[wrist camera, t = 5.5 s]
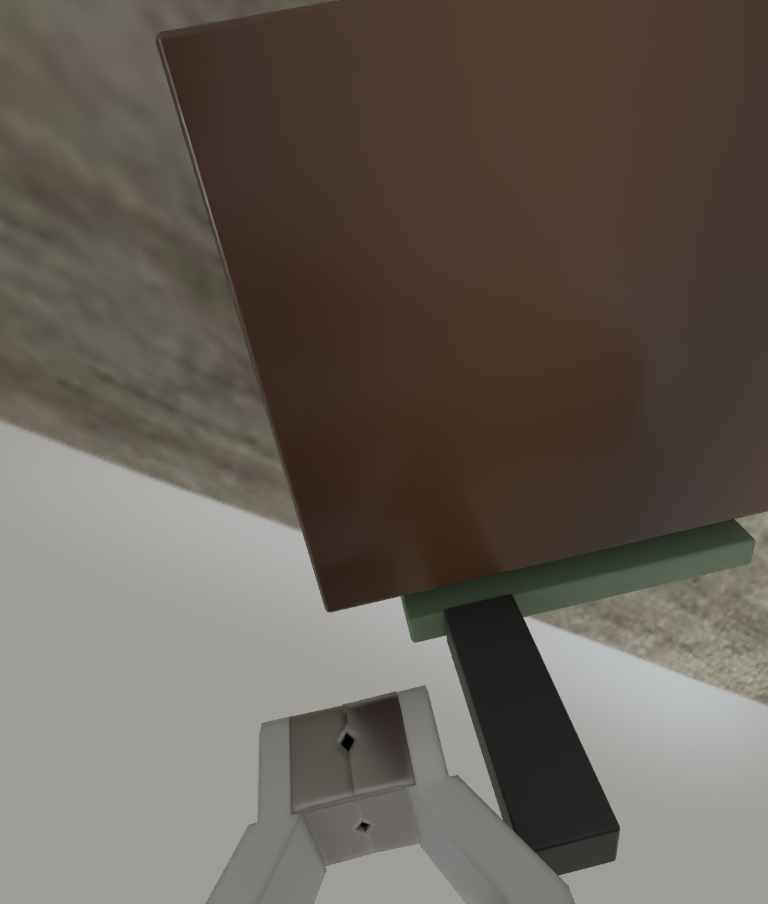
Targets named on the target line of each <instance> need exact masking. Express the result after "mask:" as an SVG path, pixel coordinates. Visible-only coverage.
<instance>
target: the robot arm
mask: <svg viewBox="0 0 768 904" xmlns="http://www.w3.org/2000/svg"><path fill="white" fill-rule="evenodd" d="M398 698H399V699H398ZM258 779H259V780H258V823H254V824H250V825H249V826H248V827H247V830H246V831H245V833H244V835H243V837H242V838H241V840H240V842H239V844H238V846H237V847H236V849H235V851H234V853H233V855H232V857H231V858H230V860H229V862H228V864H227V866H226V867H225V869H224V871H223V873H222V875H221V877H220V879H219V880H218V882H217V884H216V886H215V887H214V890H213V891H212V893H211V895H210V897H209V898H208V900H207V902H206V904H314V902H315V899H316V897H317V894H318V891H319V889H320V886H321V883H322V880H323V878H324V875H325V872H326V868H325V866H328V865H331V864H335V863H339V862H342V861H346V860H349V859H353V858H357V857H361V856H364V855H368V854H372V853H376V852H381V851H386V850H390V849H395V848H399V847H404V846H408V845H414V844H418V843H420V845H421V847H422V848H423V850H425V852H426V853H427V855H428V856H429V857H430V858H431V860H432V861H433V862H434V864H435V865H436V866H437V867H438V869H439V870H440V871H441V872H442V874H443V875H444V876H445V877H446V879H447V880H448V881H449V882H450V884H451V885H452V886H453V888H454V889H455V890H456V891H457V893H458V894H459V895H460V896H461V897H462V899H463V900H464V902H465V903H466V904H575V903H574V900H573V897H572V895H571V892H570V889H569V886H568V885H567V884H566V883H565V882H564V881H563V880H562V879H561V878H560V877H559V876H558V875H557V874H556V873H555V872H554V871H553V870H552V869H551V868H550V867H549V866H548V865H547V864H546V863H545V862H544V861H543V860H542V859H541V858H540V857H539V856H538V855H537V854H536V853H535V852H534V851H533V850H532V849H531V848H530V847H529V846H528V845H527V844H526V843H525V842H524V841H523V840H522V839H521V838H520V837H519V836H518V835H517V834H516V833H515V832H514V831H513V830H512V829H511V828H510V827H509V826H508V825H507V824H506V823H505V822H504V821H503V820H502V819H501V818H500V817H499V816H498V815H497V814H496V813H495V812H494V811H493V810H492V809H491V808H490V807H489V806H488V805H487V804H486V803H485V802H484V801H483V800H482V799H481V798H480V797H479V796H478V795H477V794H476V793H475V792H473V790H472V789H471V788H469V786H468V785H467V784H466V783H465V782H464V781H463V780H462V779H461V778H459V776H458V775H457V776H451V777H449V775H448V771H447V767H446V763H445V759H444V755H443V751H442V747H441V743H440V739H439V735H438V731H437V727H436V722H435V718H434V715H433V710H432V706H431V702H430V698H429V694H428V691H427V688H426V686H425V685H424V686H420V687H416V688H412V689H408V690H404V691H400V692H398V694H397V692H392V693H388V694H384V695H380V696H376V697H372V698H368V699H364V700H360V701H356V702H352V703H348V704H343V705H342V706H338V707H333V708H329V709H324V710H320V711H315V712H310V713H306V714H301V715H297V716H290V717H286V718H282V719H278V720H274V721H269V722H265V723H262V726H261V730H260V734H259V778H258Z"/></svg>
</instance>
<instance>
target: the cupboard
mask: <svg viewBox="0 0 768 904" xmlns="http://www.w3.org/2000/svg"><path fill="white" fill-rule="evenodd" d="M156 44H157V48H158V51H159V54H160V58H161V61H162V64H163V68H164V71H165V75H166V78H167V81H168V85H169V88H170V91H171V95H172V98H173V101H174V105H175V108H176V111H177V115H178V118H179V121H180V125H181V128H182V131H183V135H184V138H185V141H186V145H187V148H188V151H189V155H190V158H191V161H192V165H193V168H194V172H195V175H196V178H197V182H198V185H199V188H200V192H201V195H202V198H203V202H204V205H205V208H206V212H207V215H208V218H209V222H210V225H211V228H212V232H213V235H214V238H215V242H216V245H217V248H218V252H219V255H220V258H221V262H222V265H223V269H224V272H225V275H226V279H227V282H228V285H229V289H230V292H231V295H232V299H233V302H234V305H235V309H236V312H237V315H238V319H239V322H240V325H241V329H242V332H243V335H244V339H245V342H246V345H247V349H248V352H249V355H250V359H251V362H252V366H253V369H254V372H255V376H256V379H257V382H258V386H259V389H260V392H261V396H262V399H263V402H264V406H265V409H266V412H267V416H268V419H269V422H270V426H271V429H272V432H273V436H274V439H275V442H276V446H277V449H278V452H279V456H280V459H281V462H282V466H283V469H284V473H285V476H286V479H287V483H288V486H289V489H290V493H291V496H292V499H293V503H294V506H295V509H296V513H297V516H298V519H299V523H300V526H301V529H302V533H303V536H304V539H305V542H306V546H307V549H308V553H309V556H310V559H311V563H312V566H313V570H314V573H315V576H316V579H317V583H318V586H319V590H320V593H321V596H322V600H323V603H324V606H325V609H326V611H327V612H334V611H339V610H342V609H347V608H351V607H356V606H360V605H365V604H369V603H373V602H378V601H382V600H386V599H390V598H395V597H399V596H403V595H408V594H412V593H416V592H421V591H425V590H429V589H434V588H438V587H442V586H447V585H451V584H455V583H460V582H464V581H468V580H473V579H477V578H481V577H486V576H490V575H494V574H499V573H503V572H507V571H511V570H516V569H520V568H524V567H529V566H533V565H537V564H542V563H546V562H550V561H555V560H559V559H563V558H568V557H572V556H576V555H581V554H585V553H589V552H594V551H598V550H602V549H607V548H611V547H615V546H620V545H624V544H628V543H632V542H637V541H641V540H645V539H650V538H654V537H658V536H663V535H667V534H671V533H676V532H680V531H684V530H689V529H693V528H697V527H702V526H706V525H710V524H715V523H719V522H723V521H728V520H732V519H736V518H741V517H745V516H749V515H753V514H758V513H762V512H766V511H768V0H338V1H332V2H327V3H321V4H315V5H310V6H304V7H298V8H293V9H287V10H281V11H276V12H270V13H265V14H259V15H253V16H248V17H242V18H236V19H231V20H225V21H220V22H214V23H208V24H203V25H197V26H191V27H186V28H180V29H175V30H169V31H163V32H160V33H159V34H157V35H156Z"/></svg>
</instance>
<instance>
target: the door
mask: <svg viewBox="0 0 768 904" xmlns="http://www.w3.org/2000/svg"><path fill="white" fill-rule="evenodd" d="M754 546H755V540H754V538H753V537H752V536H751V535H750V534H749V533H748V532H747V531H746V530H745V529H744V528H743V527H742V526H741V525H740V524H739V523H738V522H737V521H736V520H735V519H732V520H728V521H723V522H719V523H715V524H710V525H706V526H702V527H697V528H693V529H689V530H684V531H680V532H676V533H671V534H667V535H663V536H658V537H654V538H650V539H645V540H641V541H637V542H632V543H628V544H624V545H620V546H615V547H611V548H607V549H602V550H598V551H594V552H589V553H585V554H581V555H576V556H572V557H568V558H563V559H559V560H555V561H550V562H546V563H542V564H537V565H533V566H529V567H524V568H520V569H516V570H511V571H507V572H503V573H499V574H494V575H490V576H486V577H481V578H477V579H473V580H468V581H464V582H460V583H455V584H451V585H447V586H442V587H438V588H434V589H429V590H425V591H421V592H416V593H412V594H408V595H403V596H401V600H402V604H403V608H404V612H405V616H406V620H407V624H408V628H409V632H410V636H411V640H412V641H413V642H420V641H424V640H429V639H433V638H437V637H441V636H445V635H447V642H448V645H449V648H450V652H451V655H452V658H453V661H454V664H455V668H456V671H457V674H458V677H459V680H460V684H461V687H462V690H463V693H464V696H465V700H466V703H467V706H468V709H469V712H470V716H471V719H472V722H473V725H474V728H475V731H476V735H477V737H478V741H479V744H480V748H481V751H482V754H483V757H484V760H485V764H486V767H487V770H488V773H489V776H490V780H491V783H492V786H493V789H494V792H495V796H496V798H497V802H498V805H499V808H500V812H501V815H502V818H503V821H504V822H505V823H506V824H507V825H508V826H509V827H510V828H511V829H512V830H513V831H514V832H515V833H516V834H517V835H518V836H519V837H520V838H521V839H522V840H523V841H524V842H525V843H526V844H527V845H528V846H529V847H530V848H531V849H532V850H533V851H534V852H535V853H536V854H537V855H538V856H539V857H540V858H541V859H542V860H543V861H544V862H545V863H546V864H547V865H548V866H549V867H550V868H551V869H552V870H553V871H554V872H555V873H556V874H557V875H562V874H566V873H569V872H573V871H577V870H581V869H585V868H589V867H593V866H597V865H600V864H604V863H608V862H612V861H614V860H615V859H616V853H617V847H618V840H619V832H620V826H619V824H618V822H617V820H616V817H615V815H614V813H613V811H612V809H611V807H610V804H609V802H608V800H607V798H606V796H605V794H604V791H603V789H602V787H601V785H600V783H599V781H598V779H597V776H596V774H595V772H594V770H593V768H592V765H591V763H590V761H589V759H588V757H587V755H586V753H585V750H584V748H583V746H582V744H581V742H580V740H579V738H578V735H577V733H576V731H575V729H574V727H573V725H572V722H571V720H570V718H569V716H568V714H567V711H566V709H565V707H564V705H563V703H562V701H561V698H560V696H559V694H558V692H557V690H556V688H555V685H554V683H553V681H552V679H551V677H550V675H549V672H548V670H547V668H546V666H545V664H544V662H543V659H542V657H541V655H540V653H539V651H538V649H537V647H536V644H535V642H534V640H533V638H532V636H531V634H530V631H529V629H528V627H527V625H526V623H525V620H524V618H523V617H526V616H531V615H535V614H539V613H543V612H548V611H552V610H556V609H560V608H565V607H569V606H573V605H577V604H582V603H586V602H590V601H594V600H599V599H603V598H607V597H611V596H615V595H620V594H624V593H628V592H632V591H637V590H641V589H645V588H649V587H654V586H658V585H662V584H666V583H671V582H675V581H679V580H683V579H688V578H692V577H696V576H700V575H705V574H709V573H713V572H717V571H721V570H726V569H730V568H734V567H738V566H743V565H747V564H749V563H750V562H751V558H752V554H753V550H754Z"/></svg>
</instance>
